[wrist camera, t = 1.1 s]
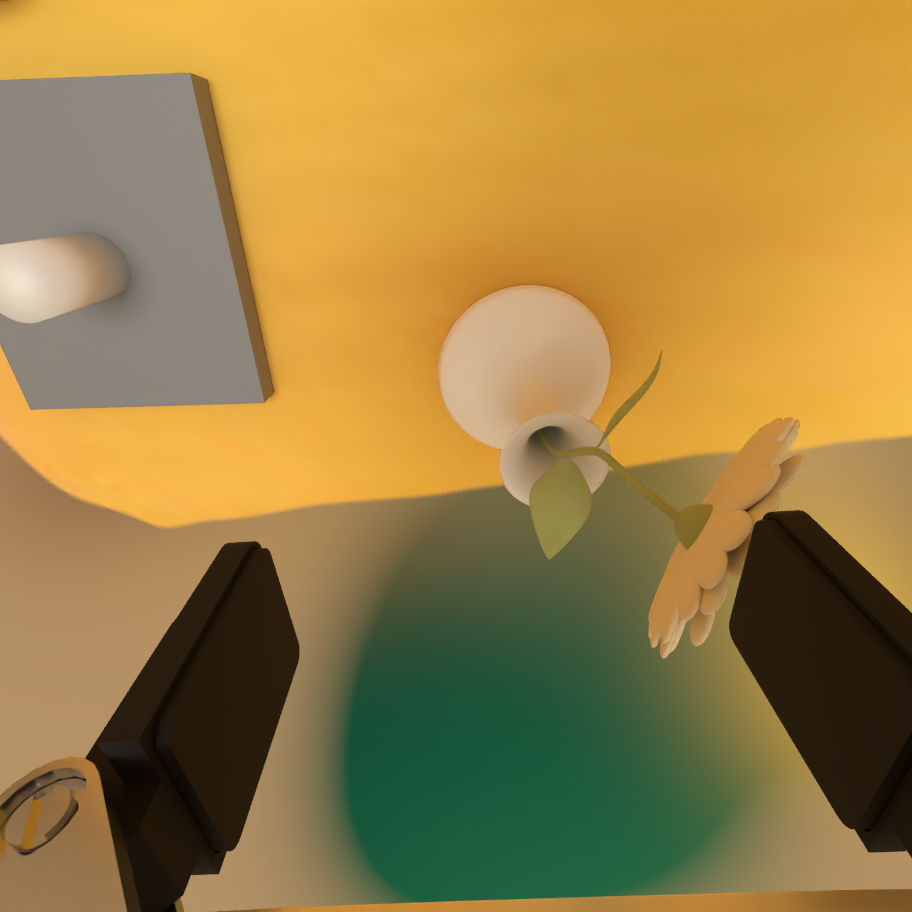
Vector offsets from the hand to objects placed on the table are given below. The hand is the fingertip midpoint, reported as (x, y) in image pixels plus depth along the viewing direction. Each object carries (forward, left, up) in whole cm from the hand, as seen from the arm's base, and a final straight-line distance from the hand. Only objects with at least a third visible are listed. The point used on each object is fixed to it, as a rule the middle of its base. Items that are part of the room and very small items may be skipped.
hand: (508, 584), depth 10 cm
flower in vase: (+4, +4, -26) cm, 27 cm away
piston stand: (-3, -22, -26) cm, 34 cm away
